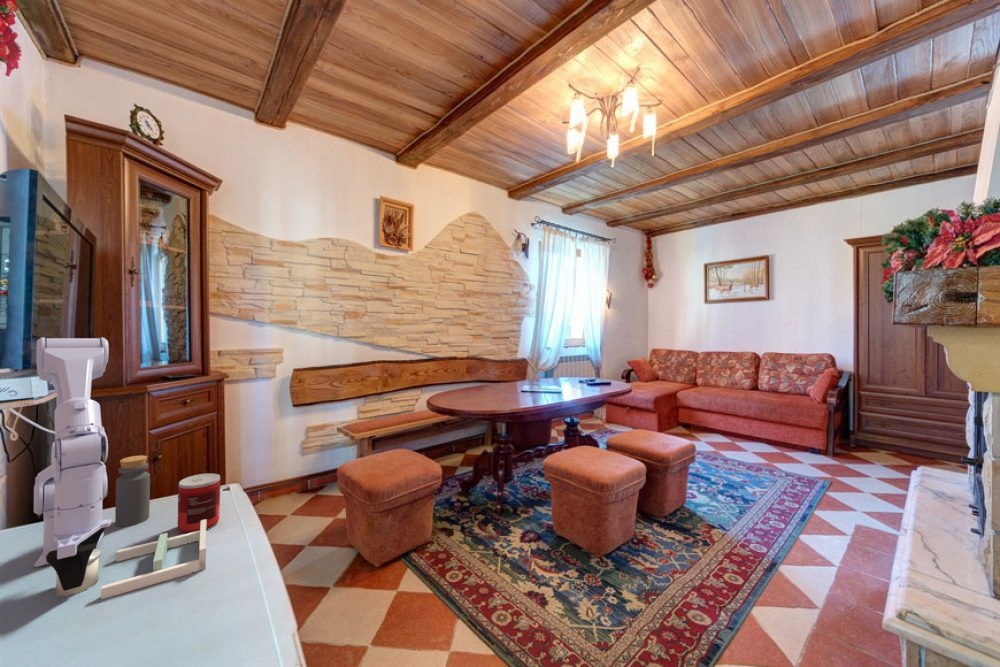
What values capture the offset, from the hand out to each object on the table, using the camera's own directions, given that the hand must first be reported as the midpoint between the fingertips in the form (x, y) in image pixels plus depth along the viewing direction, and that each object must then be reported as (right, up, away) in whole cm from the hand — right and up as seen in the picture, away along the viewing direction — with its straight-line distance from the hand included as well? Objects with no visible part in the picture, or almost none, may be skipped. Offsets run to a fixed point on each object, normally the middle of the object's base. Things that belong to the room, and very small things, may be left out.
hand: (77, 578), depth 67 cm
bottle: (-13, -1, +23) cm, 26 cm away
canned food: (+4, -2, +21) cm, 22 cm away
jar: (0, -1, 0) cm, 1 cm away
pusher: (+9, -2, +7) cm, 11 cm away
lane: (+9, -2, +7) cm, 11 cm away
